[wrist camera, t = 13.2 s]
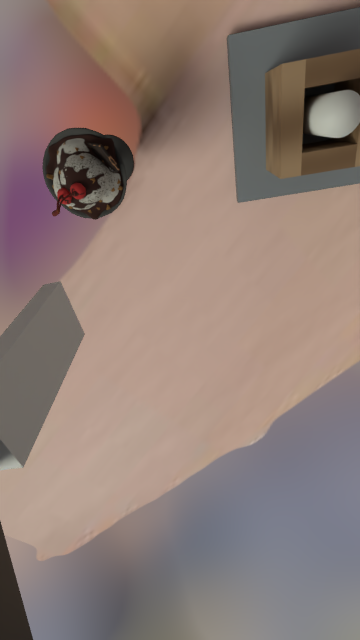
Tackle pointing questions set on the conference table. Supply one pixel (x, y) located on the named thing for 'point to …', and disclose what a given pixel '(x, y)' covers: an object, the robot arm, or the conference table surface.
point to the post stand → (319, 103)
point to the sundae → (87, 171)
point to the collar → (288, 110)
